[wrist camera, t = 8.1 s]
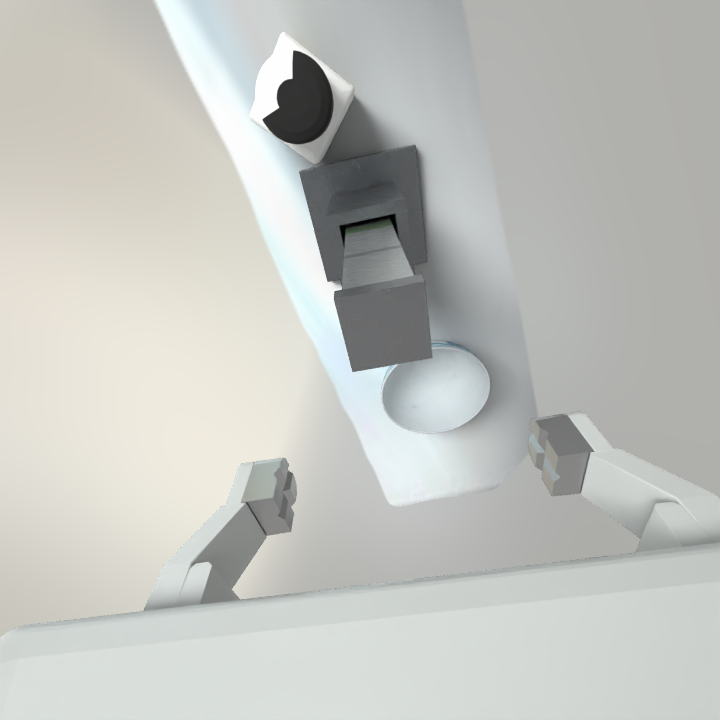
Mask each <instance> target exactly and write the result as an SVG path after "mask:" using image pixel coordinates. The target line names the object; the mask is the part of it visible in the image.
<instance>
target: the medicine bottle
mask: <svg viewBox="0 0 720 720" xmlns="http://www.w3.org/2000/svg"><path fill="white" fill-rule="evenodd" d="M353 98H354V87H353V86H352V85H351V84H350V83H348V82H347V81H346V80H345V79H343V78H342V77H341V76H340V75H338V74H337V73H336V72H335V71H333V70H332V69H331V68H330V67H328V66H327V65H326V64H325V63H323V62H322V61H321V60H320V59H318V58H317V57H316V56H314V55H313V54H312V53H311V52H309V51H308V50H307V49H306V48H304V47H303V46H302V45H301V44H299V43H298V42H297V41H296V40H294V39H293V38H292V37H291V36H289V35H288V34H287V33H285V32H283V33H281V35H280V37H279V40H278V42H277V45H276V47H275V50H274V53H273V55H272V56H271V57H270V58H269V59H268V60H267V61H266V62H265V63H264V65H263V66H262V68H261V70H260V72H259V75H258V78H257V82H256V99H255V102H254V104H253V107H252V109H251V112H250V115H249V117H250V120H251V121H252V122H254V123H255V124H257V125H258V126H260V127H261V128H263V129H264V130H265V131H267V132H268V133H270V134H271V135H273V136H274V137H276V138H277V139H279V140H280V141H281V142H283V143H284V144H286V145H287V146H289V147H290V148H292V149H293V150H294V151H296V152H297V153H299V154H300V155H302V156H303V157H305V158H306V159H307V160H309V161H310V162H312V163H313V164H318V163H319V162H320V161H321V160H322V159H323V158H324V156H325V154H326V152H327V150H328V148H329V146H330V144H331V142H332V140H333V138H334V136H335V134H336V132H337V130H338V128H339V126H340V124H341V122H342V120H343V118H344V116H345V114H346V112H347V110H348V108H349V106H350V104H351V102H352V100H353Z"/></svg>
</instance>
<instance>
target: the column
mask: <svg viewBox="0 0 720 720" xmlns="http://www.w3.org/2000/svg"><path fill="white" fill-rule="evenodd" d="M334 301H335V305H336V309H337V313H338V317H339V321H340V325H341V329H342V333H343V336H344V340H345V344H346V348H347V352H348V356H349V360H350V364H351V368H352V372H356V371H361V370H367V369H373V368H379V367H384V366H390V365H396V364H401V363H407V362H413V361H419V360H424V359H430V358H433V356H432V347H431V337H430V328H429V318H428V308H427V299H426V289H425V281H424V279H423V277H422V275H421V274H420V275H415V276H414V274H413V272H412V270H411V267H410V265H409V263H408V260H407V258H406V256H405V253H404V251H403V249H402V246H401V244H400V242H399V239H398V237H397V235H396V232H395V230H394V227H393V225H392V223H391V220H390V218H389V216H388V215H386V216H381V217H377V218H372V219H367V220H363V221H358V222H353V223H349V224H346V235H345V250H344V265H343V280H342V290H338V291H335V292H334Z"/></svg>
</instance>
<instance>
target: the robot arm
mask: <svg viewBox="0 0 720 720" xmlns="http://www.w3.org/2000/svg"><path fill="white" fill-rule="evenodd" d="M529 429H530V430H531V432H532V434H531V435H530V437H529V438H528V448H529V453H530V456H531V459H532V461H533V463H534V465H535V467H537V468H538V469H540V470H542V471H543V473H542V479H543V481H544V483H545V485H546V487H547V488H548V490H549V492H550V494H551V496H559V495H569V494H578V493H581V495H582V496H583V497H585V498H586V499H588V500H589V501H590V502H591V503H593V504H594V505H595V506H597V507H598V508H600V509H601V510H602V511H604V512H605V513H607V514H608V515H609V516H610V517H612V518H613V519H614V520H616V521H617V522H619V523H620V524H621V525H623V526H624V527H625V528H627V529H628V530H629V531H631V532H632V533H633V534H635V535H636V536H637V537H639V538H640V539H641V540H640V542H639V545H638V547H637V550H636V552H635V553H628V554H620V555H611V556H602V557H594V558H586V559H577V560H569V561H561V562H552V563H544V564H536V565H527V566H519V567H510V568H502V569H493V570H485V571H476V572H468V573H460V574H451V575H443V576H435V577H426V578H419V579H410V580H401V581H393V582H385V583H377V584H368V585H360V586H351V587H343V588H335V589H326V590H318V591H309V592H302V593H293V594H285V595H276V596H267V597H259V598H251V599H242V600H240V599H239V597H238V596H237V595H236V594H235V593H234V591H232V588H233V586H234V585H235V584H236V582H237V581H238V579H239V578H240V576H241V575H242V573H243V572H244V570H245V569H246V567H247V566H248V564H249V563H250V561H251V560H252V558H253V557H254V555H255V554H256V552H257V551H258V549H259V548H260V546H261V545H262V543H263V542H264V540H265V539H266V536H267V535H274V534H280V533H286V532H291V529H292V522H293V516H294V512H293V510H292V508H291V506H292V505H293V504H294V503H295V501H296V496H297V487H296V481H295V477H294V475H293V473H291V472H290V471H288V467H289V464H288V462H287V460H286V458H278V459H272V460H263V461H256V462H250V463H242V464H241V465H240V466H239V468H238V471H237V473H236V476H235V479H234V482H233V485H232V488H231V491H230V494H229V497H228V500H227V503H226V505H225V506H221V507H220V508H219V509H218V510H217V511H216V512H215V513H214V514H213V515H212V516H211V517H210V518H209V519H208V520H207V521H206V522H205V523H204V525H203V526H202V527H201V528H200V529H199V530H198V531H197V532H196V533H195V534H194V535H193V536H192V537H191V538H190V539H189V540H188V541H187V542H186V543H185V544H184V545H183V546H182V547H181V548H180V549H179V550H178V551H177V552H176V553H175V554H174V556H172V557H171V559H169V560H168V562H167V563H166V564H165V565H164V566H163V567H162V569H161V572H160V574H159V576H158V579H157V581H156V583H155V586H154V588H153V590H152V592H151V595H150V597H149V599H148V601H147V604H146V606H145V608H144V611H140V612H132V613H124V614H116V615H107V616H99V617H90V618H81V619H73V620H64V621H56V622H47V623H38V624H30V625H24V626H19V627H17V628H14V629H12V630H10V631H8V632H7V633H6V634H4V635H3V636H1V637H0V720H720V499H719V498H718V497H717V496H716V495H715V494H713V493H711V492H709V491H707V490H705V489H703V488H700V487H698V486H696V485H694V484H692V483H690V482H688V481H686V480H684V479H682V478H680V477H678V476H676V475H674V474H671V473H669V472H667V471H665V470H663V469H661V468H659V467H657V466H655V465H653V464H651V463H649V462H647V461H644V460H642V459H640V458H638V457H636V456H634V455H632V454H630V453H628V452H626V451H624V450H622V449H620V448H619V449H614V448H613V447H612V445H611V444H610V443H609V442H608V441H607V440H606V439H605V437H604V436H603V435H602V434H601V432H600V431H599V430H598V429H597V428H596V426H595V425H594V424H593V423H592V422H591V420H590V419H589V418H588V417H587V416H586V414H585V413H584V412H581V411H577V412H571V413H566V414H559V415H553V416H547V417H541V418H535V419H531V421H530V424H529Z"/></svg>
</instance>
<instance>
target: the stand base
mask: <svg viewBox="0 0 720 720" xmlns="http://www.w3.org/2000/svg"><path fill="white" fill-rule="evenodd" d="M299 173H300V177H301V181H302V185H303V189H304V193H305V196H306V200H307V204H308V208H309V212H310V216H311V220H312V223H313V227H314V231H315V235H316V239H317V243H318V246H319V250H320V254H321V258H322V262H323V266H324V270H325V273H326V277H327V281H328V282H330V281H335V280H340V281H341V285H342V280H343V265H344V250H345V235H346V224H349V223H353V222H358V221H363V220H367V219H372V218H377V217H381V216H386V215H388V216H389V218H390V220H391V223H392V225H393V227H394V230H395V232H396V235H397V237H398V239H399V242H400V244H401V246H402V249H403V251H404V253H405V256H406V258H407V260H408V263H409V265H410V267H411V270H412V272H413V274H414V266H413V265H415V264H420V263H425V262H427V257H426V246H425V236H424V226H423V216H422V206H421V195H420V185H419V175H418V165H417V154H416V145H410V146H406V147H401V148H397V149H393V150H388V151H384V152H380V153H375V154H371V155H367V156H362V157H358V158H354V159H349V160H345V161H341V162H336V163H332V164H328V165H323V166H319V167H315V168H310V169H306V170H302V171H300V172H299ZM414 276H415V274H414Z"/></svg>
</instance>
